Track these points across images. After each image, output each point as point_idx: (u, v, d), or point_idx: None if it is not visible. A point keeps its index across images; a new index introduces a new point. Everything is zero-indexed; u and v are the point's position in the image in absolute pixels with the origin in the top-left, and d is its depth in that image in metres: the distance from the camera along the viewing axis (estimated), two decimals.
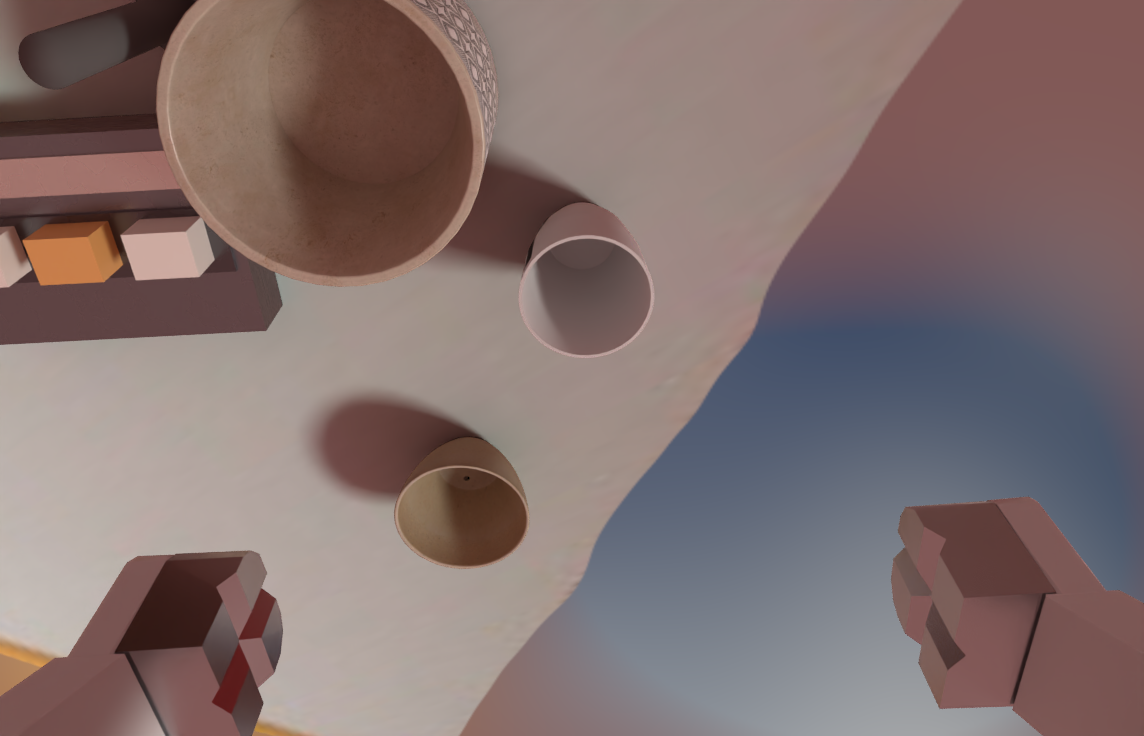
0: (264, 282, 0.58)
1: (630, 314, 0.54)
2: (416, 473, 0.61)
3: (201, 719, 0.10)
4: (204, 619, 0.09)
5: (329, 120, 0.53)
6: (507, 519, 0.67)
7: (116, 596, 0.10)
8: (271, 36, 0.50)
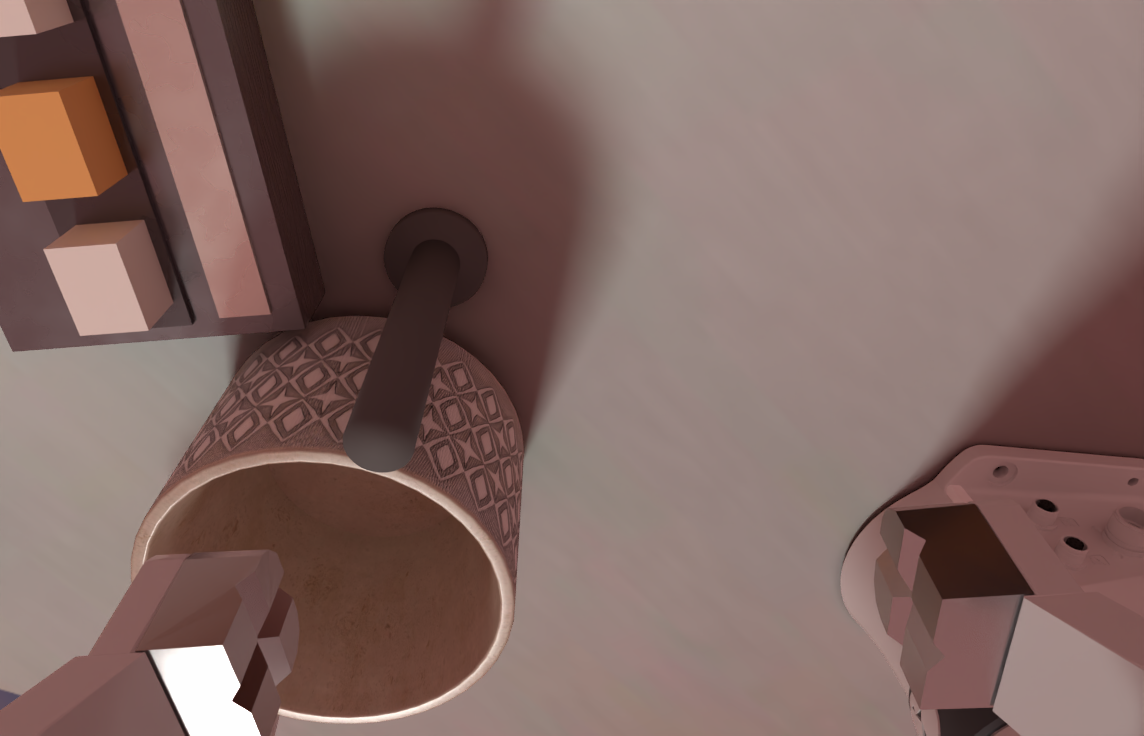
0: None
1: None
2: None
3: (221, 719, 0.10)
4: (224, 618, 0.09)
5: None
6: None
7: (135, 595, 0.10)
8: None
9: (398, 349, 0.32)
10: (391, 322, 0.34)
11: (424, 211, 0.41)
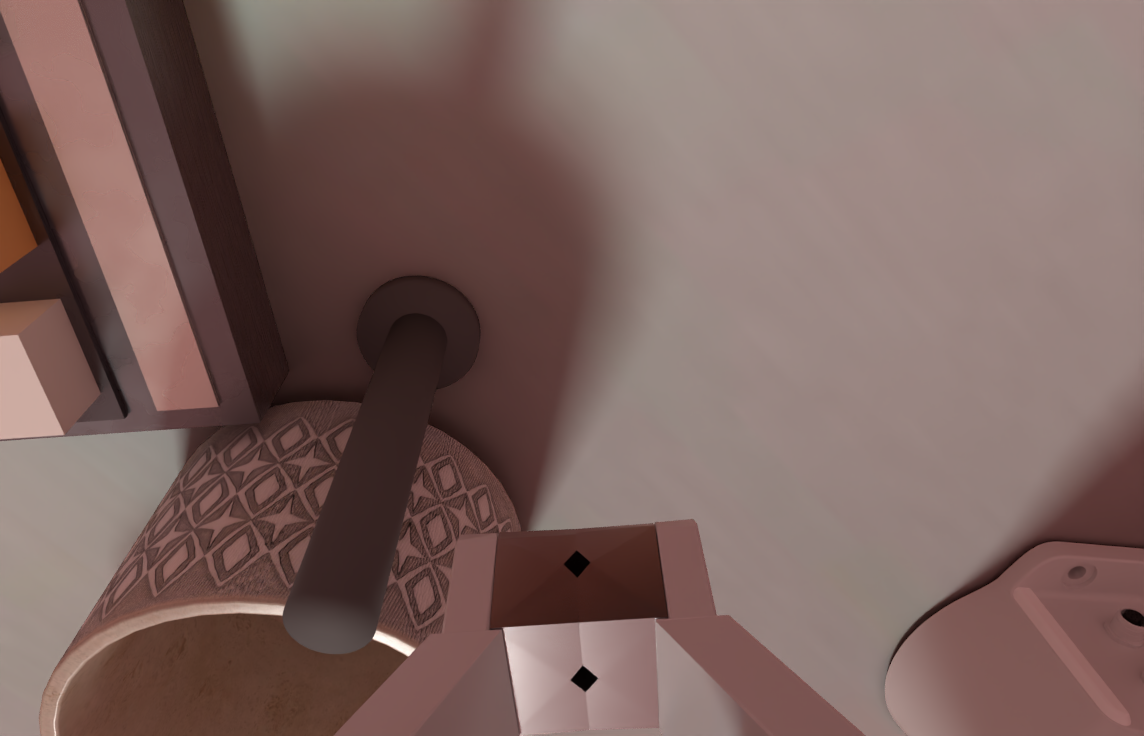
0: None
1: None
2: None
3: (554, 698, 0.09)
4: (567, 596, 0.09)
5: None
6: None
7: (463, 574, 0.10)
8: None
9: (362, 480, 0.25)
10: (356, 435, 0.27)
11: (404, 280, 0.34)
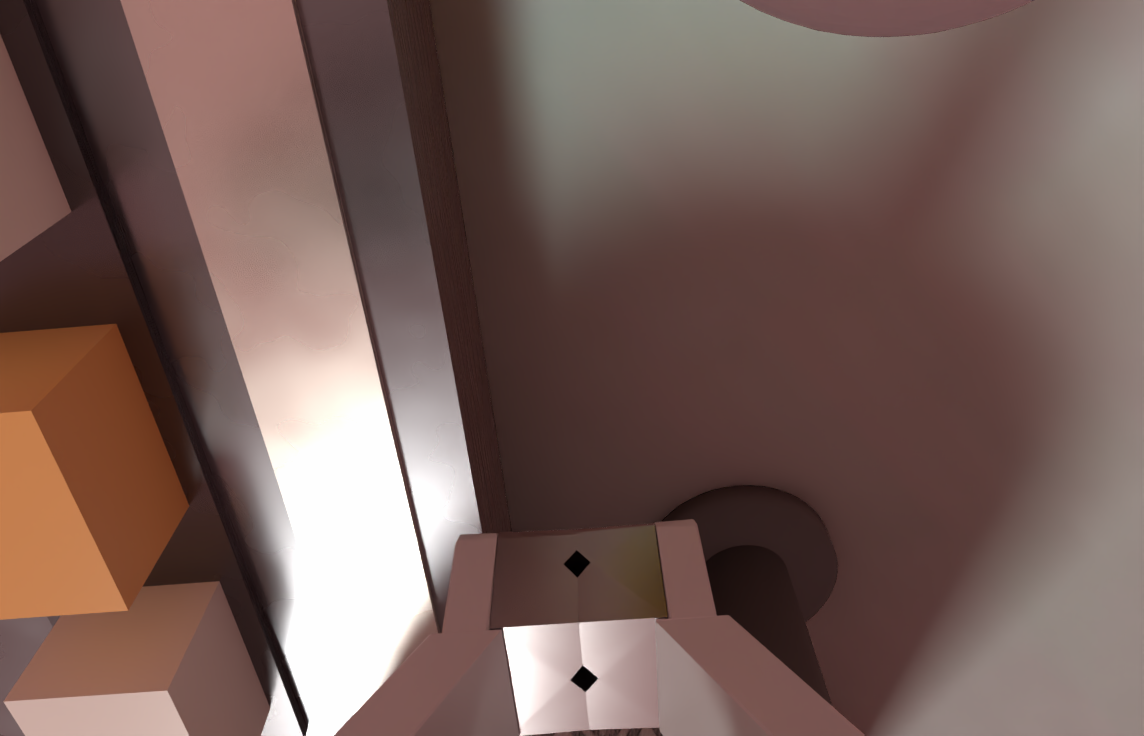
0: None
1: None
2: None
3: (554, 697, 0.09)
4: (567, 596, 0.09)
5: None
6: None
7: (463, 573, 0.10)
8: None
9: None
10: None
11: (734, 496, 0.21)
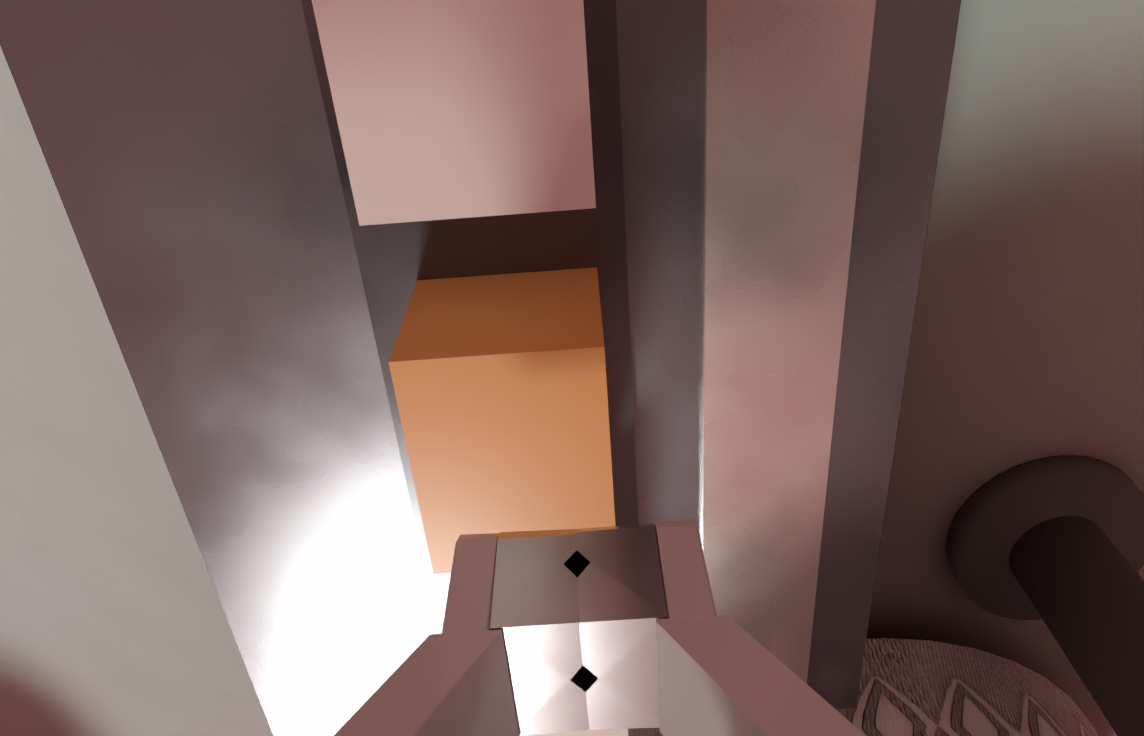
0: None
1: None
2: None
3: (555, 698, 0.09)
4: (567, 596, 0.09)
5: None
6: None
7: (463, 573, 0.10)
8: None
9: None
10: None
11: (1062, 465, 0.21)
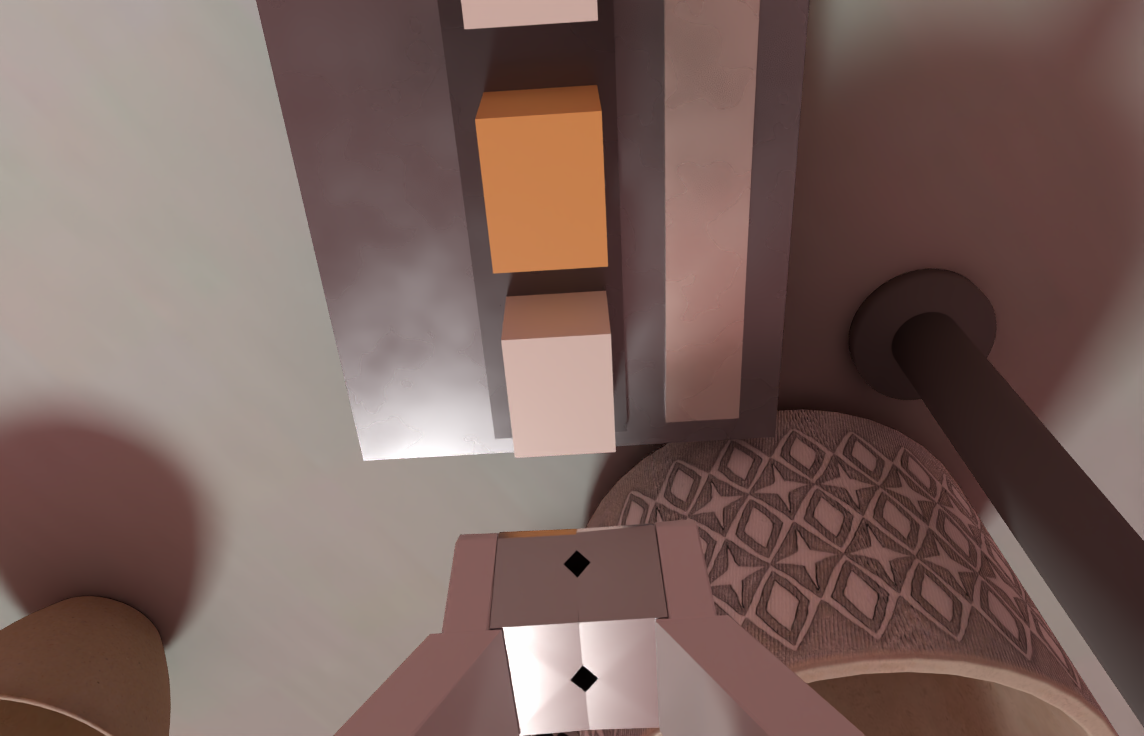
0: None
1: None
2: (103, 710, 0.32)
3: (555, 697, 0.09)
4: (567, 596, 0.09)
5: None
6: None
7: (463, 573, 0.10)
8: None
9: (1106, 516, 0.21)
10: (1026, 459, 0.23)
11: (926, 274, 0.30)
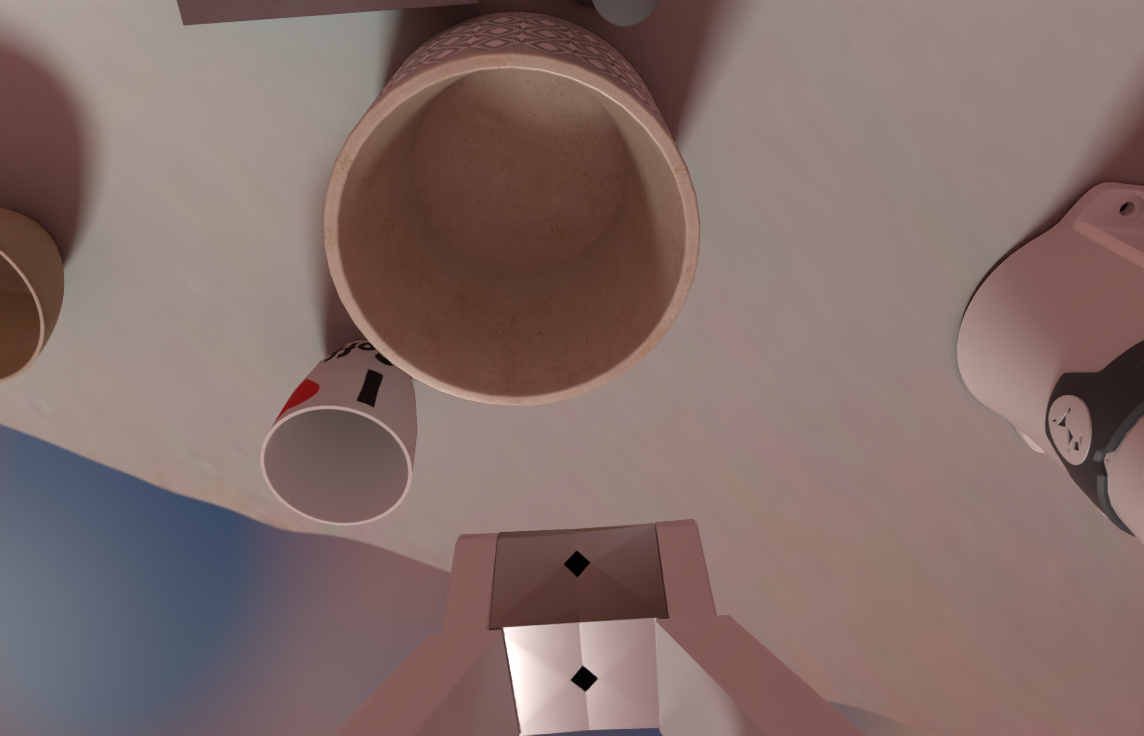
0: None
1: (313, 484, 0.49)
2: (1, 241, 0.43)
3: (555, 697, 0.09)
4: (567, 596, 0.09)
5: (485, 131, 0.45)
6: None
7: (463, 573, 0.10)
8: (581, 84, 0.43)
9: None
10: None
11: None
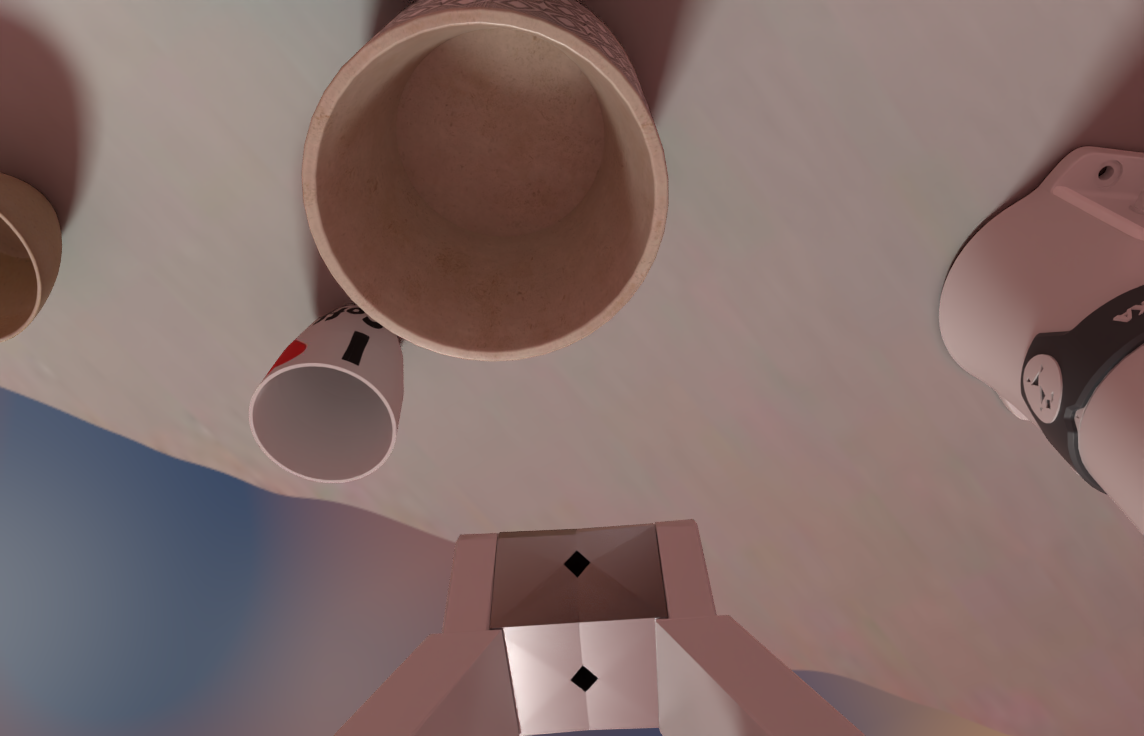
0: None
1: (303, 443, 0.51)
2: None
3: (554, 697, 0.09)
4: (567, 596, 0.09)
5: (466, 96, 0.46)
6: None
7: (463, 573, 0.10)
8: (559, 48, 0.44)
9: None
10: None
11: None
